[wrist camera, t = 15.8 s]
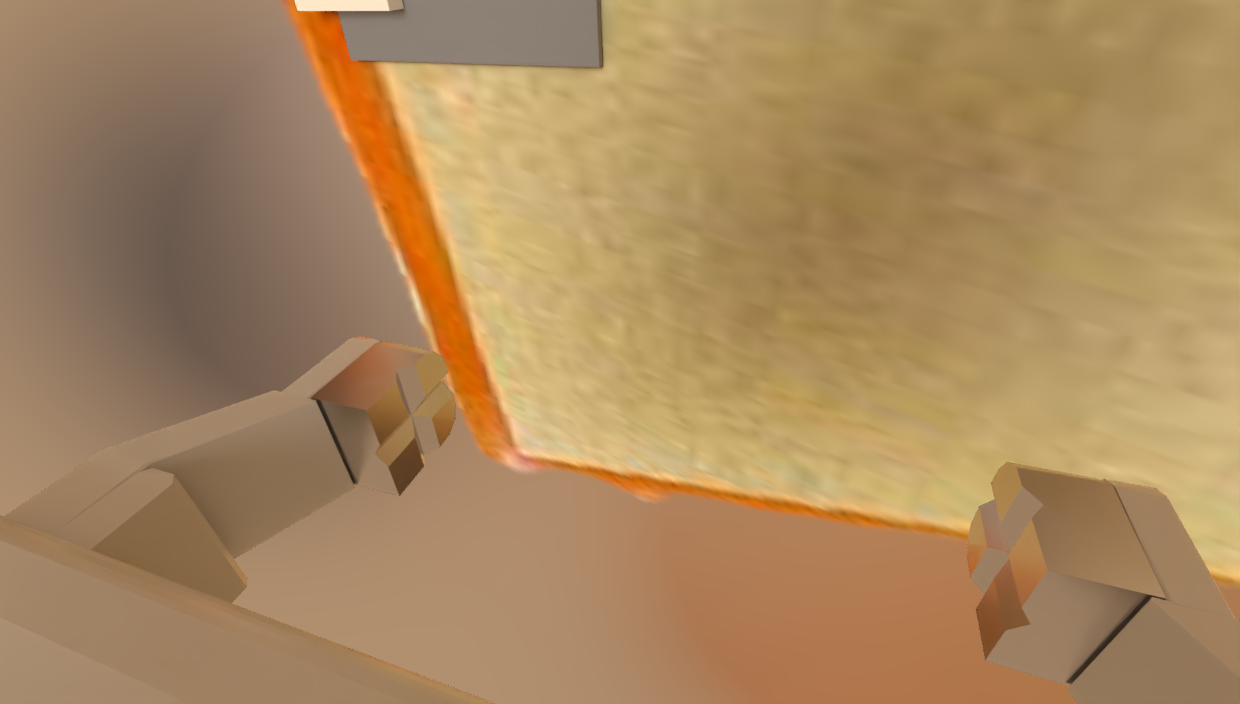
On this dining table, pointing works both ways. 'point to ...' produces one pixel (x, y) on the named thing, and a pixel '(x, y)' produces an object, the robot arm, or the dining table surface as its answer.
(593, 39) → the mat
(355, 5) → the tile
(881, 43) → the dining table surface
